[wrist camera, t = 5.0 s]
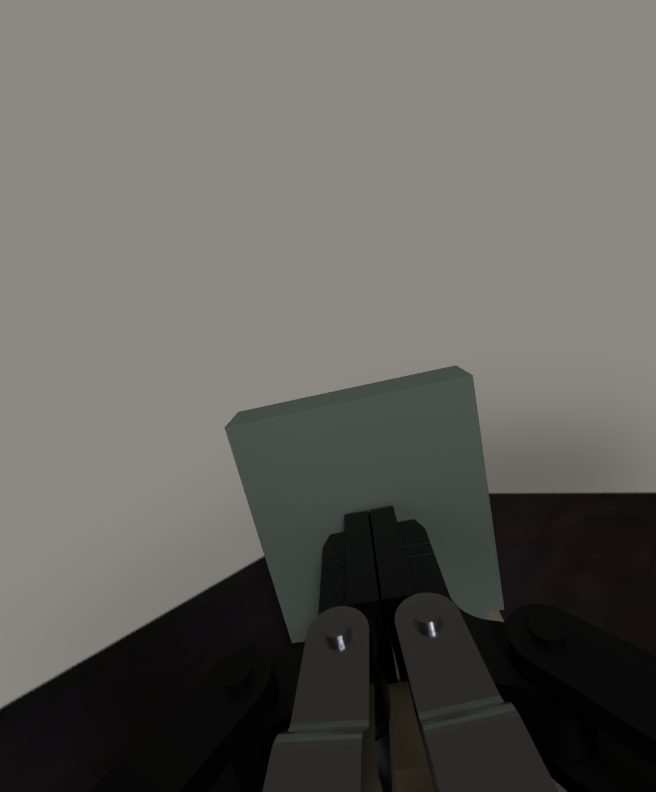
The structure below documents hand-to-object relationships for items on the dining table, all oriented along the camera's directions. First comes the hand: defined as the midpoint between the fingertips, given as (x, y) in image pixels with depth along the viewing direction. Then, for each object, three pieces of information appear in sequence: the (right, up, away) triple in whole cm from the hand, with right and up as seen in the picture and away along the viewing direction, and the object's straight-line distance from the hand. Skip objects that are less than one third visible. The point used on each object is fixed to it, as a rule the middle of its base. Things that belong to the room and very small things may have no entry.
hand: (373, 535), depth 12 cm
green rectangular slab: (+1, -5, +3) cm, 6 cm away
